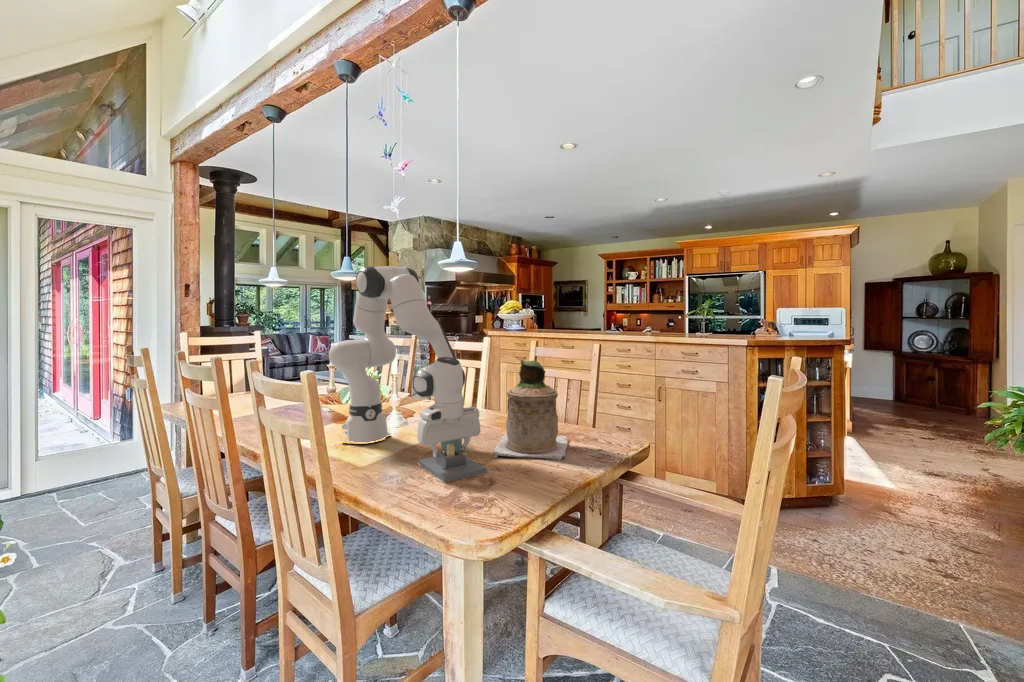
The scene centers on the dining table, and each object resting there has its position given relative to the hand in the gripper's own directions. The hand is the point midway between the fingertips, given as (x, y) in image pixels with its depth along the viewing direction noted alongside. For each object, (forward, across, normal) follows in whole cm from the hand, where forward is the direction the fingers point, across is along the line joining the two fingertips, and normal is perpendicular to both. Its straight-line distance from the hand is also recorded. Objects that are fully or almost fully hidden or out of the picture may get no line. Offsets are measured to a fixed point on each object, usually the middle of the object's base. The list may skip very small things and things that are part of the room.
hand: (450, 453), depth 146 cm
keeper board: (+5, 0, 0) cm, 5 cm away
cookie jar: (+5, -33, -2) cm, 33 cm away
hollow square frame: (+3, 0, 0) cm, 3 cm away
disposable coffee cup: (+5, -8, -17) cm, 19 cm away
